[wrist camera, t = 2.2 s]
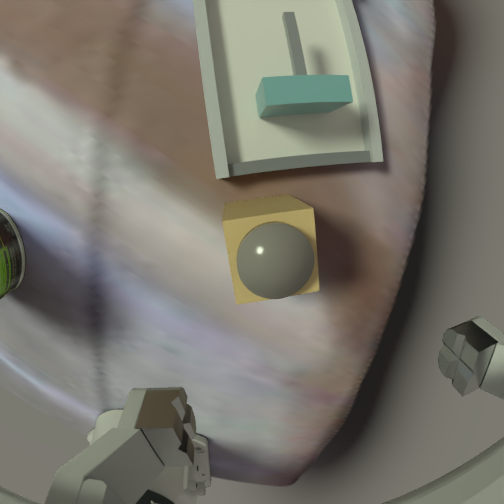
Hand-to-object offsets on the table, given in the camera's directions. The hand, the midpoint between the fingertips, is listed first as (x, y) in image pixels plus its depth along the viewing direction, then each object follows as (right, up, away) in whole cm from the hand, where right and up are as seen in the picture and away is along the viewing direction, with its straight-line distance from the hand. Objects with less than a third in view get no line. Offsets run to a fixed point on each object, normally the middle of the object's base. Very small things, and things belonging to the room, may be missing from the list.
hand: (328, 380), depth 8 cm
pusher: (+1, +19, +13) cm, 23 cm away
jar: (-1, +6, +18) cm, 19 cm away
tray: (0, +20, +14) cm, 25 cm away
